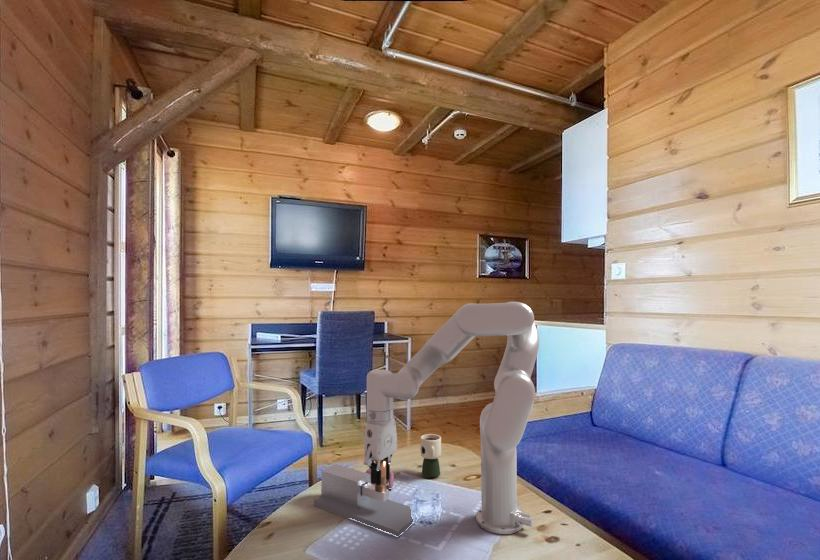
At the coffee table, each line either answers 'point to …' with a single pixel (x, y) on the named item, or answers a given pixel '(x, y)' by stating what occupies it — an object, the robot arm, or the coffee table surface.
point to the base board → (372, 513)
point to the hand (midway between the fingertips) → (380, 480)
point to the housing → (344, 485)
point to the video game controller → (386, 479)
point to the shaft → (377, 486)
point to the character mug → (430, 454)
